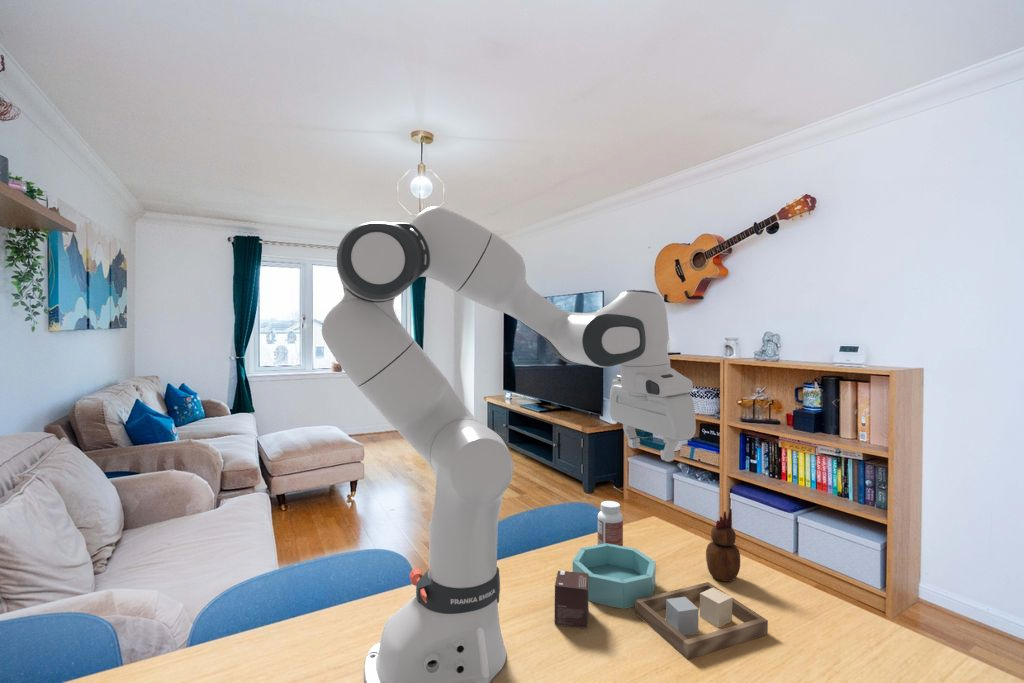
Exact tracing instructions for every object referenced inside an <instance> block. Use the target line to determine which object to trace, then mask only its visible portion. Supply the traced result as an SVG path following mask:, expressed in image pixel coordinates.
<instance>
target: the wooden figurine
mask: <svg viewBox="0 0 1024 683" xmlns="http://www.w3.org/2000/svg"><path fill="white" fill-rule="evenodd" d="M732 515H733V511H732V508H730V509H729V511H728V515H727V512H726V511H723V517H722V516H719V520H716V523H715V525H714V526H712V528H711V531H710V537H711V541H710V542H709V543H708V544H707V546H706V550H705V558H706V565H707V570H708V571H709V574H710V575H711V577H712V578H713V579H715V580H717V581H721V582H731V581H734V580H735V579H736V578H737V576H738V574H739V572H740V569H741V554H740V550H739V548H738V547H737V545H736V544H735V543H736V537H737V536H736V535H737V534H736V531H735V530H734V529H733V525H732V524H733V518H732Z"/></svg>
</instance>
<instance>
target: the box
mask: <svg viewBox="0 0 1024 683" xmlns="http://www.w3.org/2000/svg"><path fill="white" fill-rule="evenodd" d="M588 582H589V574H588V573H580V572H573V571H567V570H557V573H556V578H555V583H554V625H556V626H563V627H571V628H580V629H587V628H588V623H589V601H588V600H589V598H588V597H589V596H588Z"/></svg>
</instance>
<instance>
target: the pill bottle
mask: <svg viewBox="0 0 1024 683" xmlns="http://www.w3.org/2000/svg"><path fill="white" fill-rule="evenodd" d="M620 510H621V504H620V503H619V502H617V501H614V500H604V501H601V503H600V511H599V512H598V513H597V545H599V544H605V543H608V544H613V545H619V546H624V517H623V514H622V513H621V512H620Z"/></svg>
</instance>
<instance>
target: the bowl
mask: <svg viewBox="0 0 1024 683" xmlns="http://www.w3.org/2000/svg"><path fill="white" fill-rule="evenodd" d="M656 565H657V564H656V561H655V560H653V559H652V558H650V556H648V555H646V554H645V553H643V552H642V551H640V550H639V549H638V548H635V547H630V546H629V547H628V546H624V545H623V546H619V545H613V544H608V543H605V544H599V545H598V544H594V545H591V546H584V547H583V546H582V547H580V548H579V550H578V552H577V553H576V555H575V556H574V558H573V559H572V572H580V573H588V574H589V582H588V596H589V597H588V598H589V600H588V602H590V603H591V602H592V603H596V604H601V605H605V606H608V607H614V608H618V609H622V610H623V609H627V608H629V609H630V608H632V607H635V600H636V599H640V598H644V597H649V596H653V595H654V593H655V588H656V573H657V572H656V570H657V569H656Z"/></svg>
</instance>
